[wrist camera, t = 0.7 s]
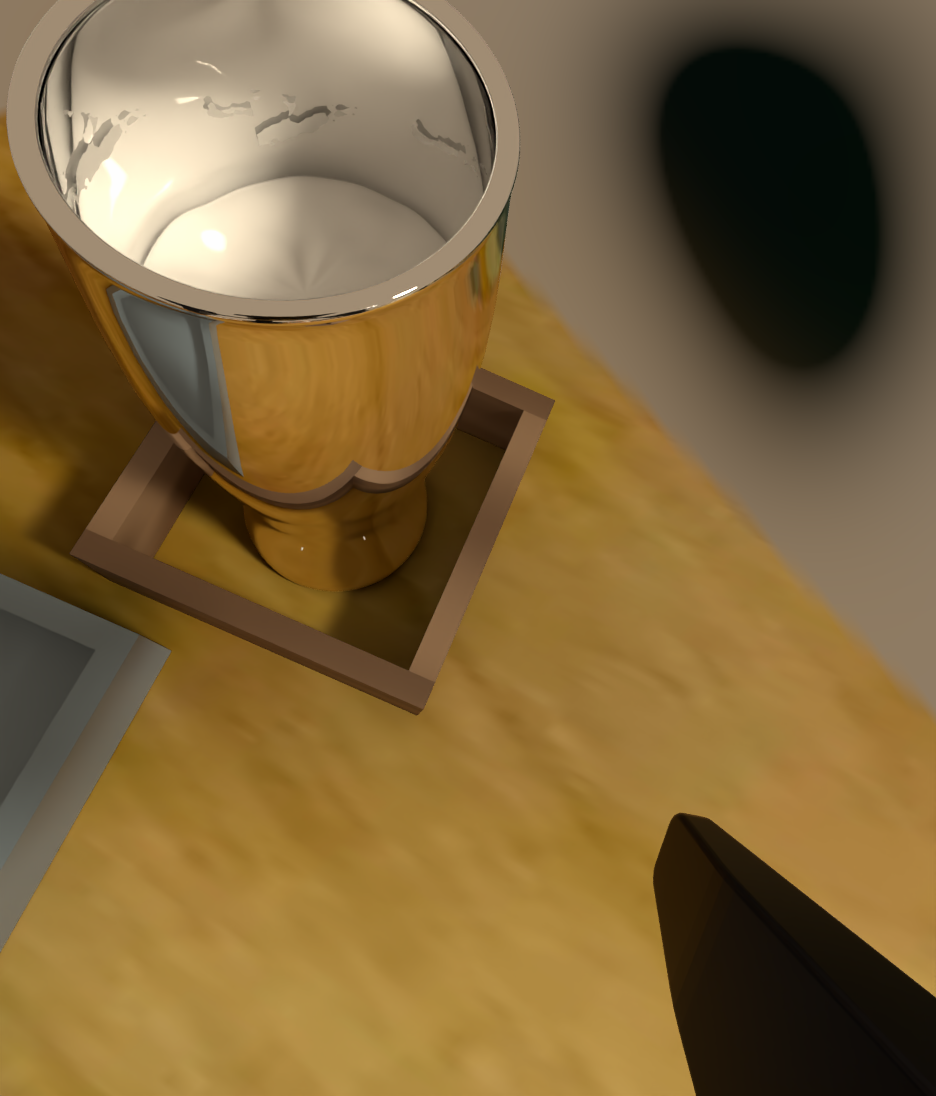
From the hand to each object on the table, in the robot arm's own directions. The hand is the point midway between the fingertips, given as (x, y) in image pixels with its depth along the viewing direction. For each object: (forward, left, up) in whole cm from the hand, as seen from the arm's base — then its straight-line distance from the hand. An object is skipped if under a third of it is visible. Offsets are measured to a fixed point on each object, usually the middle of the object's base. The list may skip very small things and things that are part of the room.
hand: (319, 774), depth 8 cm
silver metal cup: (+7, +4, -13) cm, 16 cm away
